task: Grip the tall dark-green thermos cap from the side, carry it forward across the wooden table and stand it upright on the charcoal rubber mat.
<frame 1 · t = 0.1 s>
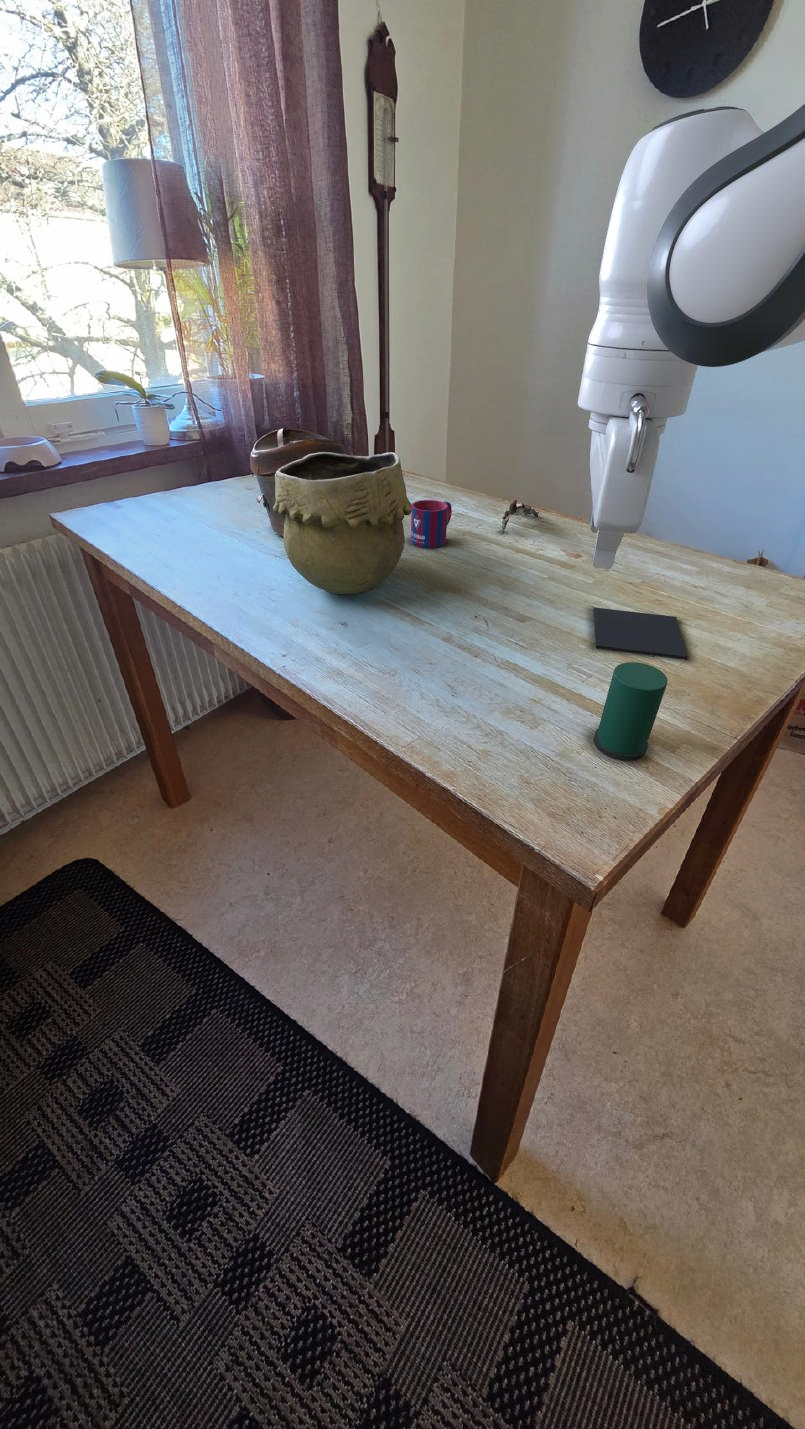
hand: (599, 547, 58), 20 cm above the table, tool pointing down, fingers open, 8 cm apart
case: (303, 529, 119), on the table
mat: (637, 633, 86), on the table
clay pot: (345, 588, 97), on the table
mug: (434, 540, 115), on the table
figurine: (517, 525, 123), on the table
thermos cap: (619, 744, 66), on the table
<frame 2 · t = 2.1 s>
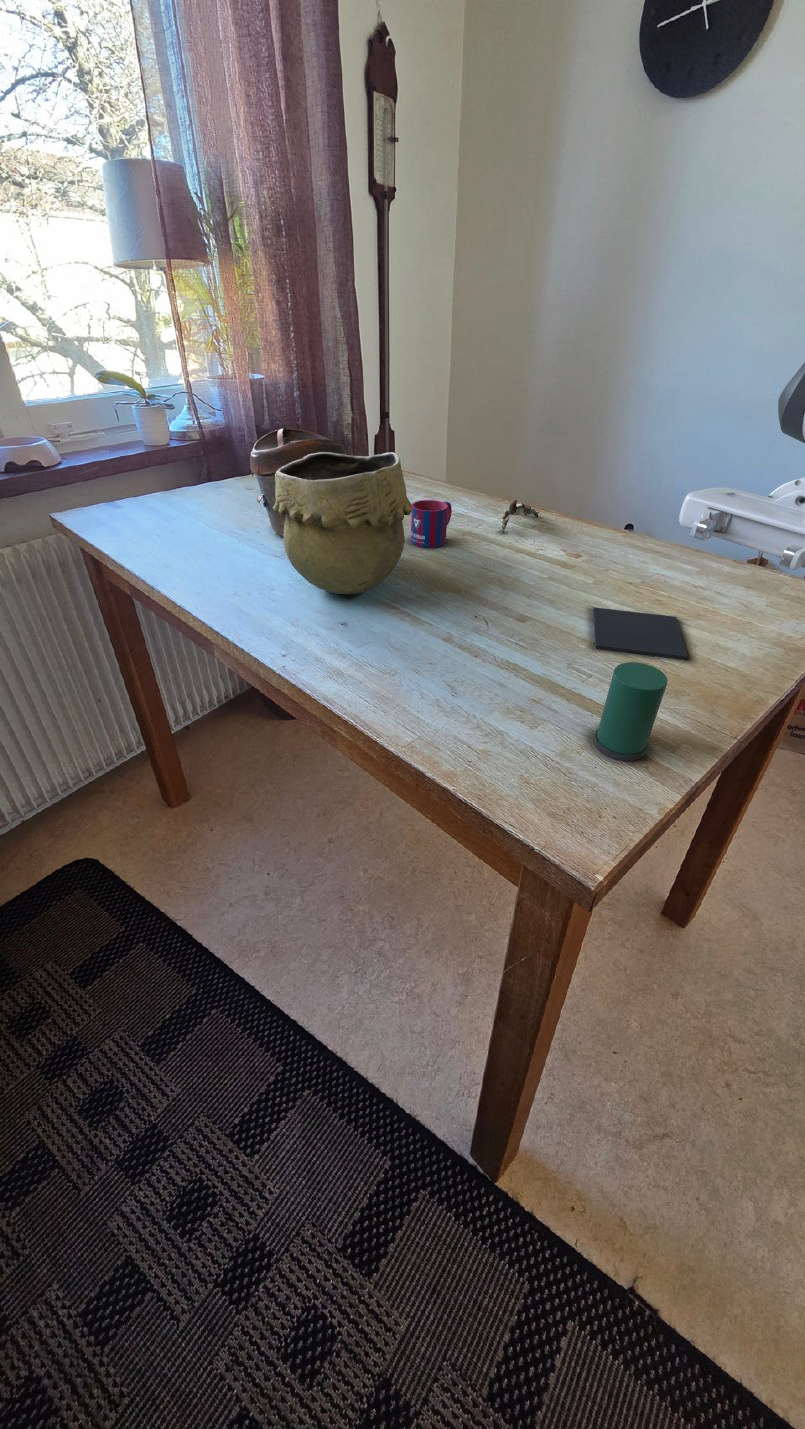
hand: (741, 544, 60), 20 cm above the table, tool horizontal, fingers open, 8 cm apart
nothing on the table moved.
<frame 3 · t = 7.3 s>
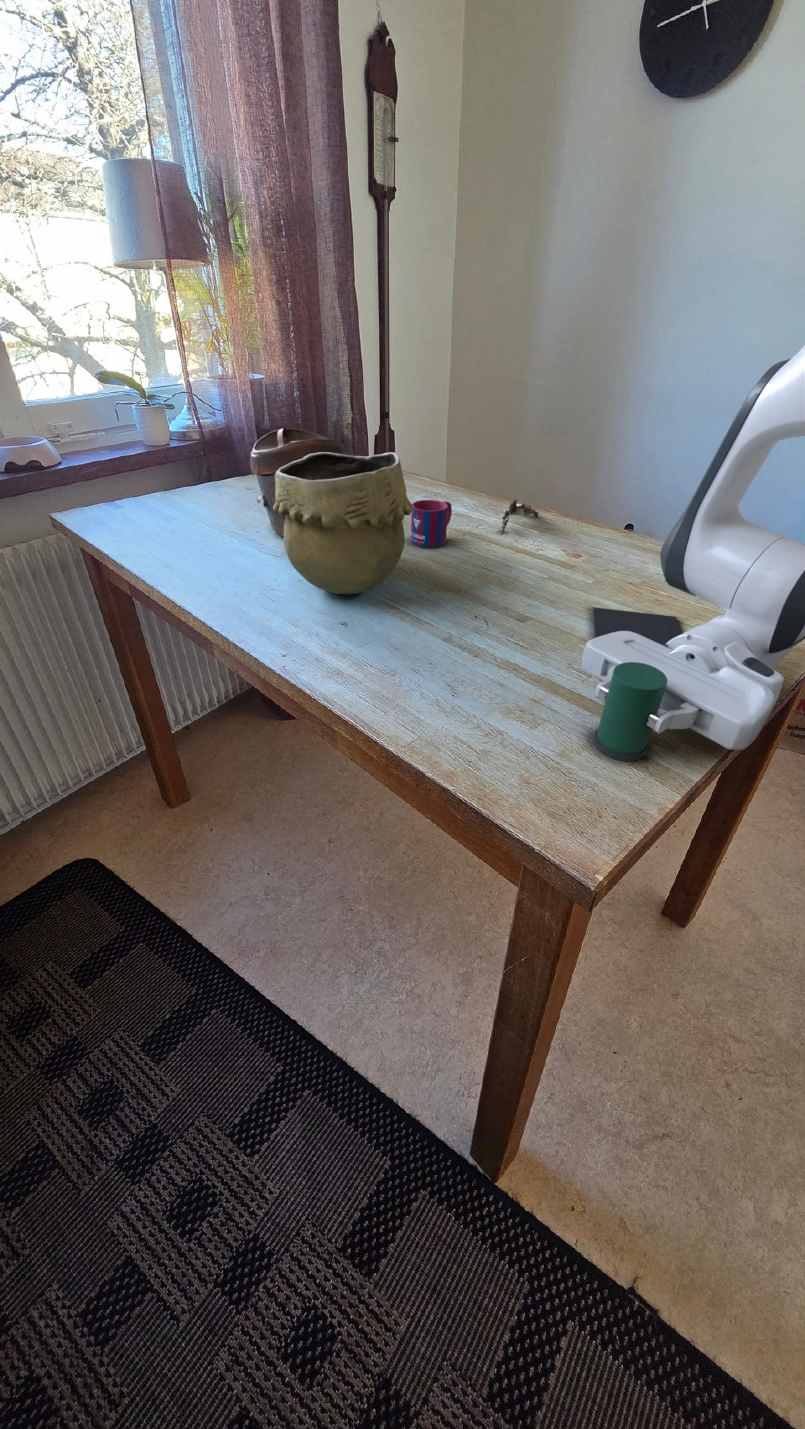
hand: (626, 708, 62), 5 cm above the table, tool horizontal, fingers closed on thermos cap, 5 cm apart
thermos cap: (619, 744, 66), on the table, touching gripper
everything else where it was.
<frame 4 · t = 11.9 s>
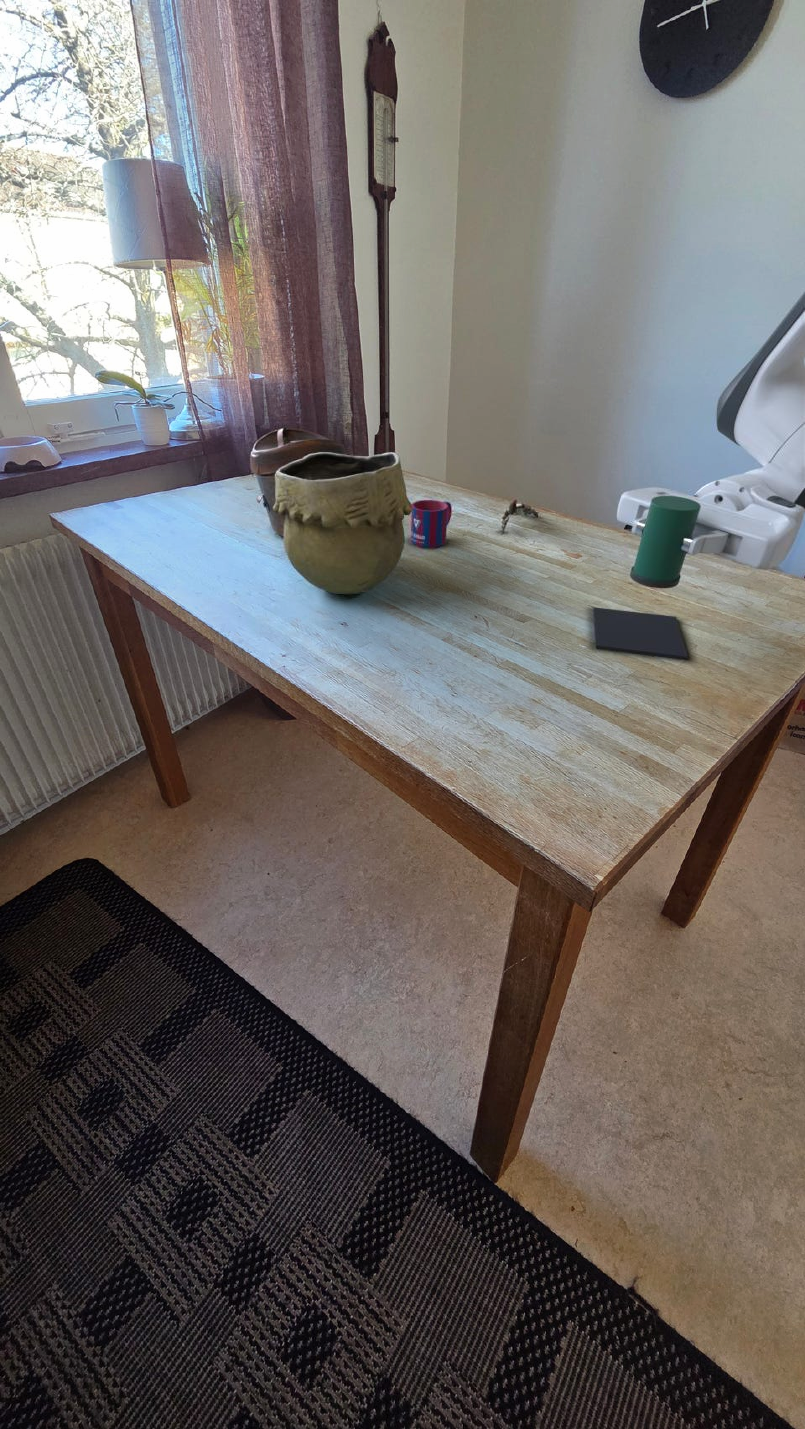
hand: (662, 537, 69), 17 cm above the table, tool horizontal, fingers closed on thermos cap, 5 cm apart
thermos cap: (654, 578, 72), point 12 cm above the table, touching gripper
everything else where it was.
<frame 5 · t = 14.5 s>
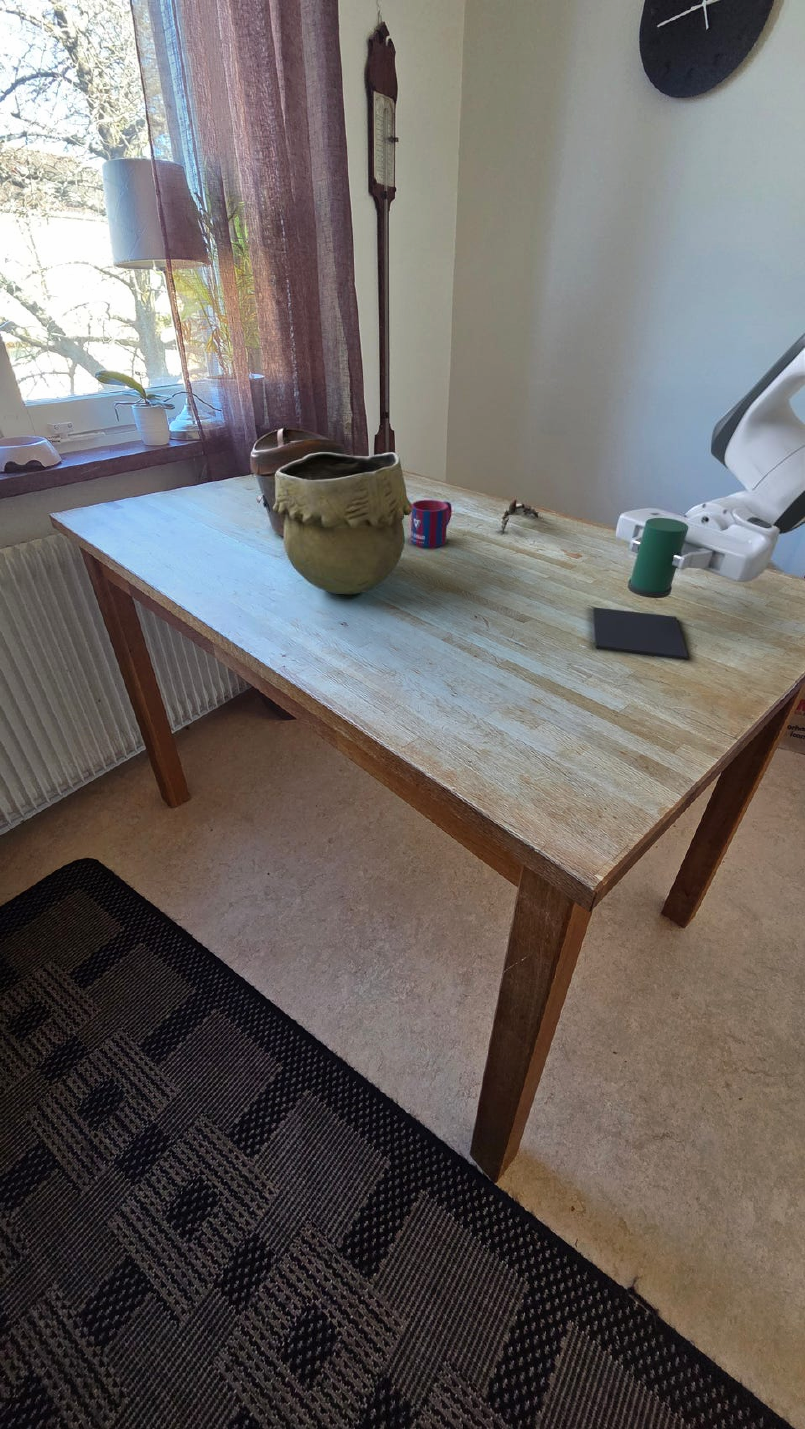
hand: (655, 554, 79), 12 cm above the table, tool horizontal, fingers closed on thermos cap, 5 cm apart
thermos cap: (648, 589, 82), point 7 cm above the table, touching gripper
everything else where it was.
when the fingers open (6 cm above the table, at t = 16.7 s): thermos cap stays where it is, resting on mat.
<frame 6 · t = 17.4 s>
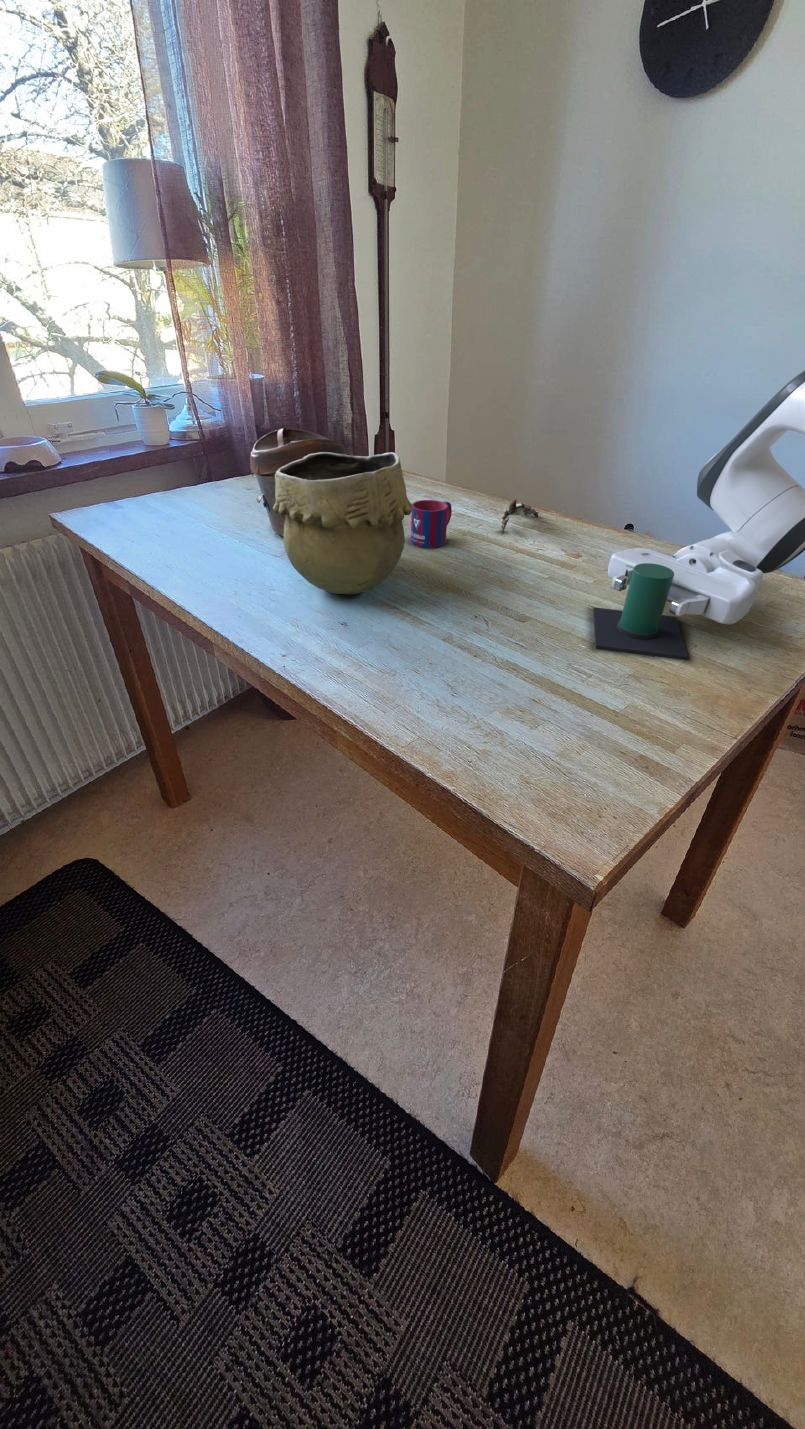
hand: (644, 596, 82), 6 cm above the table, tool horizontal, fingers open, 8 cm apart
thermos cap: (637, 630, 86), resting on mat
everything else where it was.
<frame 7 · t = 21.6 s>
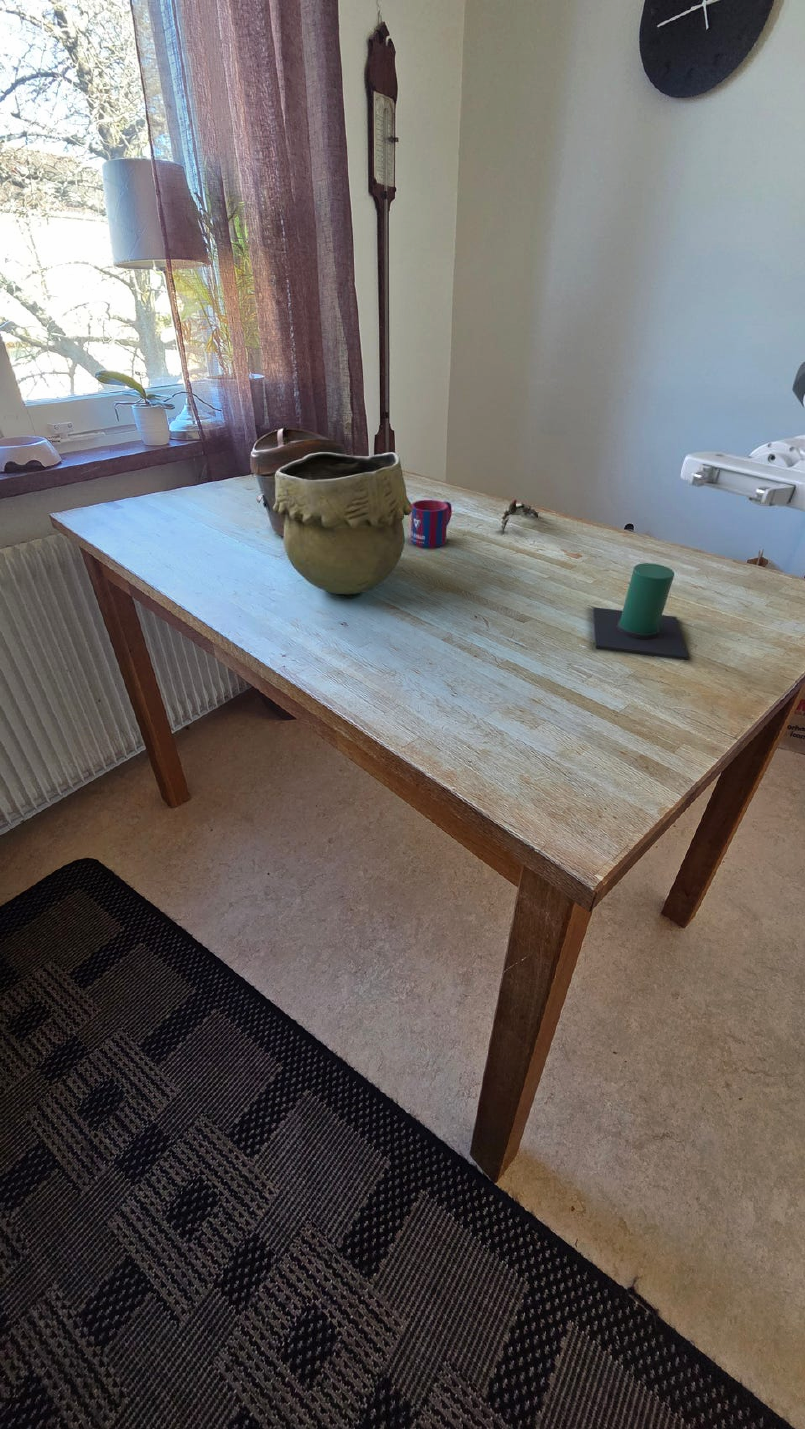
hand: (726, 487, 81), 18 cm above the table, tool horizontal, fingers open, 8 cm apart
nothing on the table moved.
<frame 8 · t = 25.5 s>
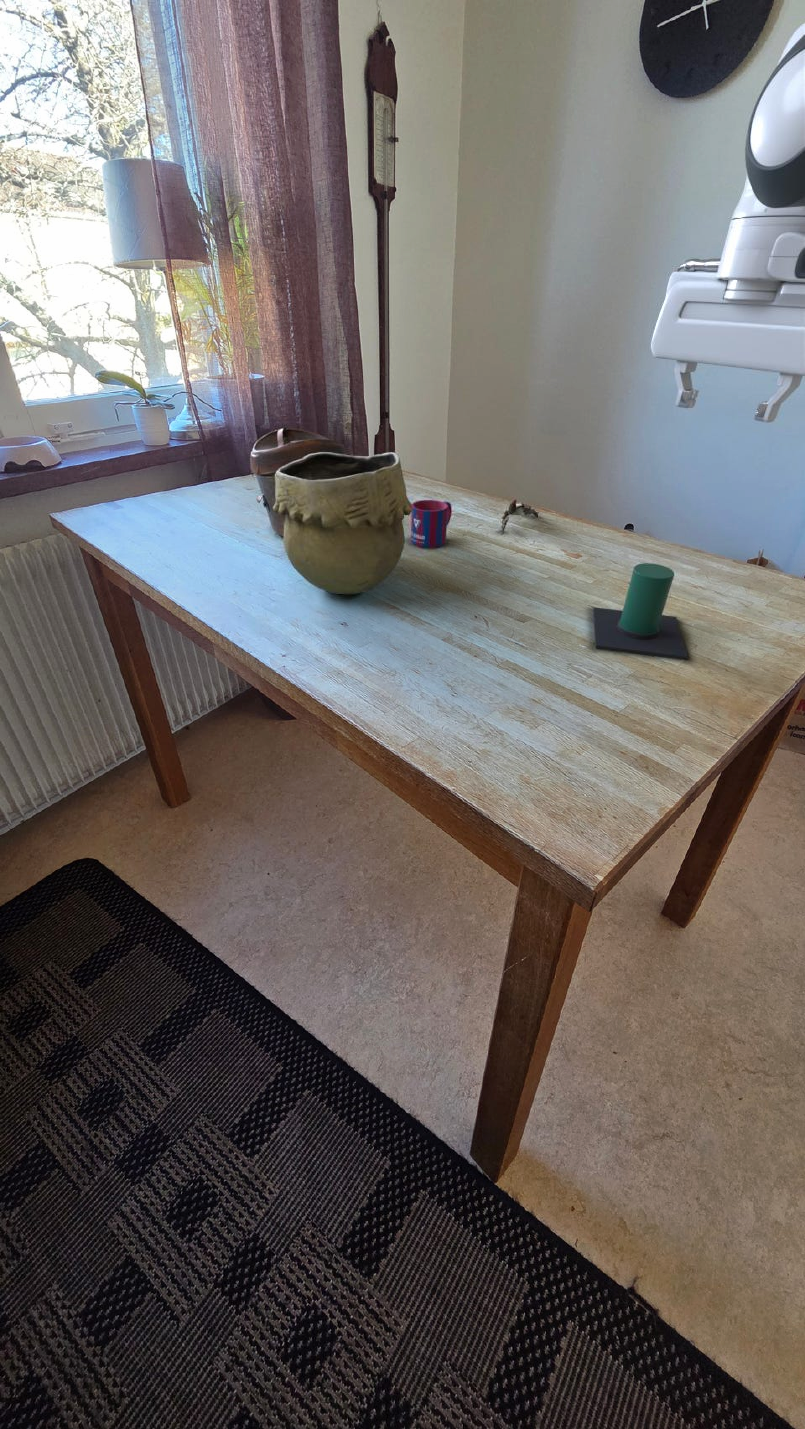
hand: (722, 414, 67), 29 cm above the table, tool pointing down, fingers open, 8 cm apart
nothing on the table moved.
at the end: thermos cap inside the target area on the mat (0.1 cm from its centre), point 0.5 cm above the mat's base; thermos cap tilted 0°; thermos cap moved 27.4 cm from its start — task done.
